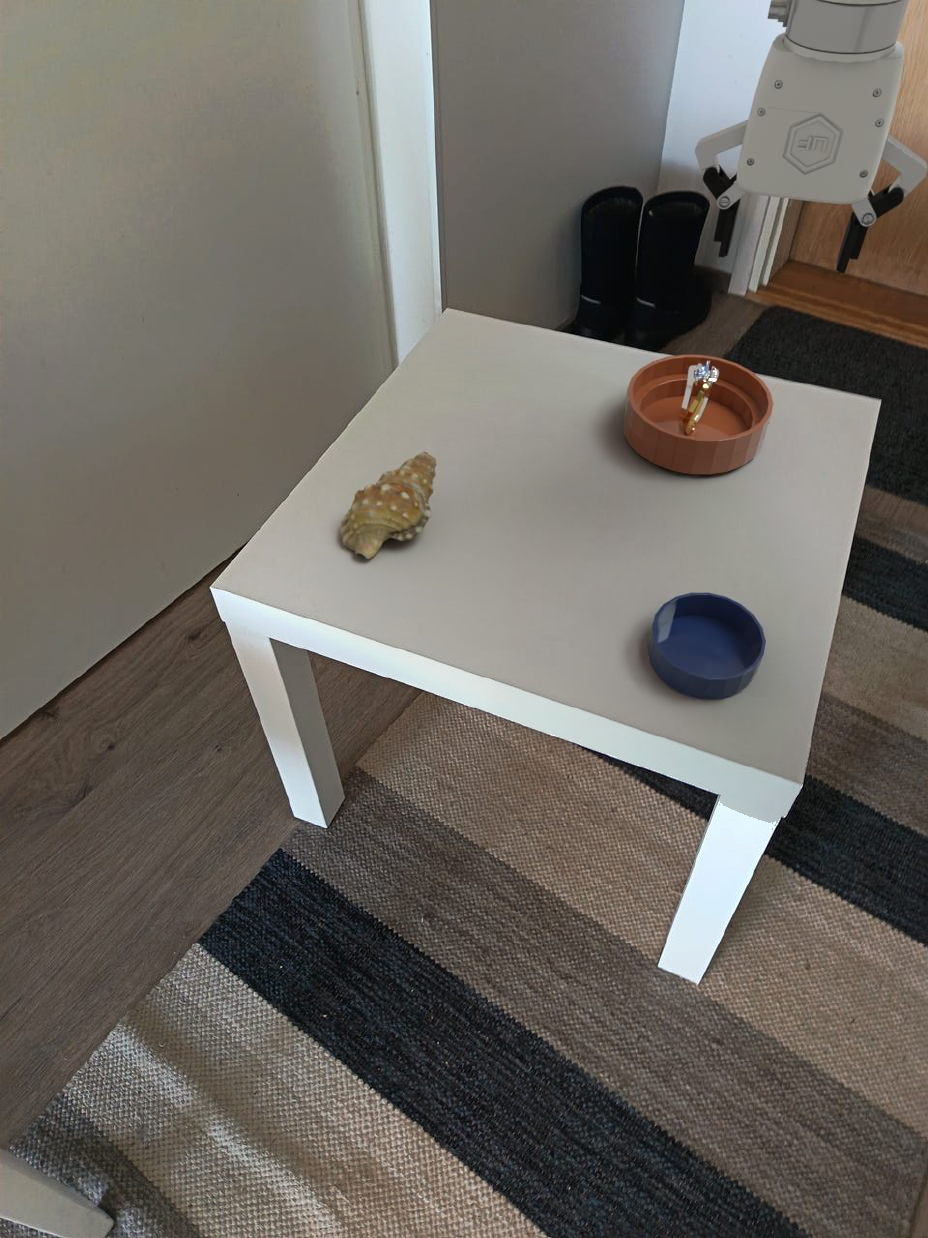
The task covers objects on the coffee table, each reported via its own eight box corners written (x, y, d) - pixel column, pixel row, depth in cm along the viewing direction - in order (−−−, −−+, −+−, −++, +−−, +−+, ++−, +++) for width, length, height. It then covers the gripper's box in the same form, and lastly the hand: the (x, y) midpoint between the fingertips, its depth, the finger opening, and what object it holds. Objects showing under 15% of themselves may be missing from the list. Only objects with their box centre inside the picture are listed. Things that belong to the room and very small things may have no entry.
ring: (689, 451, 92) (704, 388, 86) (662, 440, 93) (675, 377, 87) (718, 417, 95) (734, 354, 89) (691, 407, 97) (705, 345, 90)
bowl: (768, 405, 97) (780, 367, 94) (751, 491, 88) (763, 453, 85) (637, 382, 101) (643, 344, 97) (609, 462, 92) (614, 424, 88)
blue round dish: (762, 628, 77) (771, 606, 75) (749, 712, 72) (758, 691, 69) (658, 603, 79) (663, 582, 77) (637, 683, 74) (642, 662, 71)
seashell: (363, 520, 92) (389, 432, 87) (431, 551, 90) (460, 463, 86) (323, 544, 83) (349, 448, 79) (397, 578, 82) (428, 483, 78)
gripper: (710, 28, 60) (672, 264, 73) (980, 48, 56) (888, 294, 69) (726, -4, 64) (687, 224, 77) (976, 12, 60) (891, 250, 73)
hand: (782, 257), depth 73 cm, fingers open, 9 cm apart
